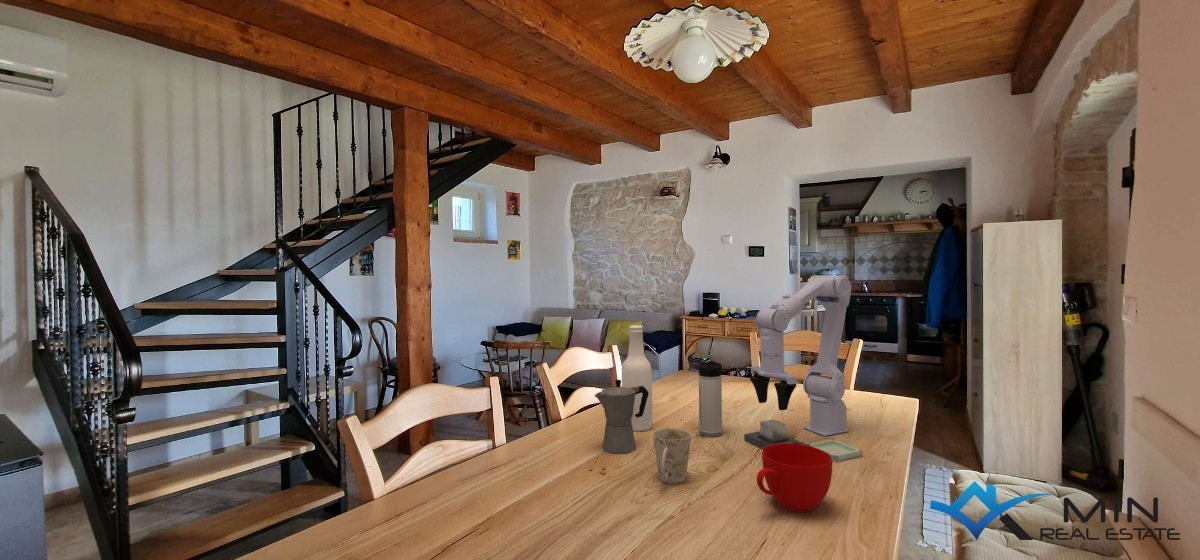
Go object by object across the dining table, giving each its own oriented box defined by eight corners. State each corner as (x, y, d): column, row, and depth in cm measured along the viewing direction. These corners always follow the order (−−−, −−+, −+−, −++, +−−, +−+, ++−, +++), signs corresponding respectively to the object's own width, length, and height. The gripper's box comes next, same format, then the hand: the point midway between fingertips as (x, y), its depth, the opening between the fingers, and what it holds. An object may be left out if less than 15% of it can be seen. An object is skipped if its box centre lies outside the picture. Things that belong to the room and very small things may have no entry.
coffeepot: (603, 458, 128) (602, 386, 127) (589, 446, 137) (588, 378, 136) (657, 448, 134) (656, 379, 133) (640, 437, 143) (639, 373, 142)
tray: (832, 444, 134) (832, 439, 134) (862, 456, 126) (862, 450, 126) (806, 450, 131) (806, 444, 131) (835, 462, 123) (835, 456, 122)
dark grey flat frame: (744, 440, 138) (744, 434, 138) (770, 435, 142) (770, 429, 142) (800, 467, 120) (800, 459, 120) (828, 460, 124) (828, 453, 124)
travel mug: (724, 431, 147) (723, 361, 146) (719, 438, 141) (718, 365, 140) (702, 428, 149) (701, 360, 149) (696, 435, 143) (696, 364, 143)
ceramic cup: (734, 504, 102) (733, 454, 102) (792, 485, 111) (792, 439, 110) (786, 533, 91) (786, 477, 91) (847, 509, 99) (847, 458, 99)
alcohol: (616, 428, 151) (614, 326, 150) (634, 421, 158) (632, 323, 157) (640, 434, 145) (639, 328, 144) (658, 426, 152) (656, 325, 151)
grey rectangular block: (773, 441, 138) (773, 419, 138) (786, 446, 134) (785, 424, 133) (760, 444, 136) (760, 421, 136) (772, 449, 132) (772, 426, 132)
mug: (693, 473, 118) (693, 429, 117) (684, 496, 106) (684, 448, 106) (658, 468, 121) (657, 426, 120) (645, 491, 109) (644, 444, 108)
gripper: (741, 351, 139) (742, 401, 140) (779, 360, 126) (780, 415, 126) (762, 349, 142) (762, 398, 142) (802, 357, 129) (802, 411, 129)
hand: (772, 406), depth 135 cm, fingers open, 7 cm apart
